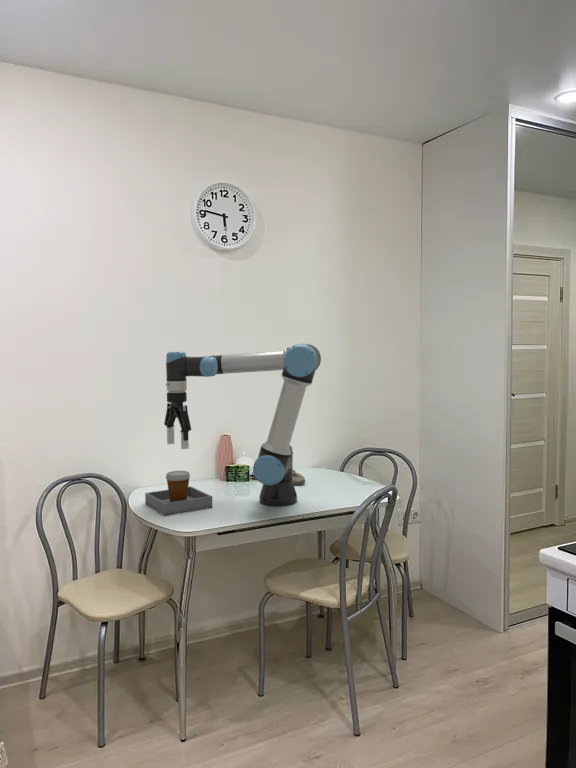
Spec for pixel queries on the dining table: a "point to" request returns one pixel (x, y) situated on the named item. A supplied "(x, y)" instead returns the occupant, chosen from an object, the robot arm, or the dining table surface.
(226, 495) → the dining table surface
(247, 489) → the dining table surface
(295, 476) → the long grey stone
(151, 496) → the crate
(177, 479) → the disposable coffee cup
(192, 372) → the robot arm
